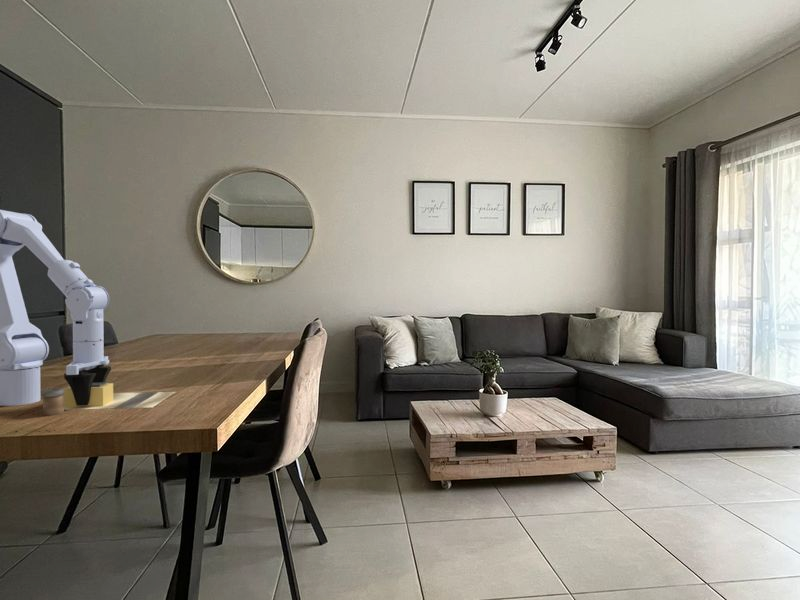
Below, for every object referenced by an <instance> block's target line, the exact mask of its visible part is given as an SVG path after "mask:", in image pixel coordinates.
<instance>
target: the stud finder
mask: <svg viewBox="0 0 800 600" xmlns="http://www.w3.org/2000/svg"><path fill="white" fill-rule="evenodd" d="M62 389H64V407H84V406H104V405H106V404H108V403H110V402H112V401H113V393H114V382H110V383H109V382H100V383H92V386H91V392H90V400H89V404H88V405H76V402H75V398H74V395H73V392H72V389H71V387H70V385H68V386H66V387H63V388H62Z"/></svg>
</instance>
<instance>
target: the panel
mask: <svg viewBox="0 0 800 600" xmlns="http://www.w3.org/2000/svg"><path fill="white" fill-rule="evenodd" d="M175 393H176V391H156V392H153V391H151V392H150V391H149V392H145V391H144V392H113V401H112V402H110V403H108V404H106V405H104V406H84V407H64V411H72V410H74V411H75V410H77V411H78V410H107V409H110V410H111V409H147V408H148V409H149V408H154V407H155V406H157V405H159V404H160V403H161V402H164V400H166V399H167V398H169V397H170V396H172V395H174V394H175Z"/></svg>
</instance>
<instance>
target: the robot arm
mask: <svg viewBox="0 0 800 600" xmlns="http://www.w3.org/2000/svg"><path fill="white" fill-rule="evenodd" d="M24 246H25V247H26V248H27V249H28V250H30V252H31V253H32V254H34V255H35V257H36V258H38V260H40V261H41V262H42V263H43V264H44V265H45V266H46V267H47V268H48V269H47V277H48V278H49V280H50V281H52V282H53V283H54V285H55V286H56V287H57V288H58V289H59V290H60V291H61V293H62V294H63V295H64V296H65V297H66V298H65V300H64V301H65V305H66V308H67V309H68V311H69V313H70V318H71V320H72V361H71V362H70V363H69V364H67V365H65V373H63V378H64V380H65V381H66V382H67V383H68V386H70V387H71V389H72V392H73V395H74V398H75V402H76V405H88V404H89V400H90V392H91V386H92V383H100V382H105V381H107V377H108V375H109V374H110V372H111V371H112V366H107V365H109V364H110V359H109V356H108V355H104V353H105V351H104V347H105V346H104V341H105V340H104V339H105V338H104V333H105V332H104V329H105V328H104V324H105V323H104V322H105V321H104V311H105V310H107V308H108V306H109V304H110V295H109V293H108V291H107V288H105V287H103V286H101V285H96V284H95V283H94V281H93V280H92V279H89V278H88V276H86V274H85V273H84V272H83V271H82V270H81V265H80V264H79V263H78V262H76V261H75V262H74V261H73V260H70V259H65V258H64V257H62V255H61V253H60V252H59V251H58V250H57V249H56V247H55V245H54V244H53V243H52V242H51V241H50V239H49V238H48V237H47V235H46V234H45V233H44V232H43V225H42V224H41V223H40V222H39V221H38V220H37V218H35V216H33V215H32V214H31V213H30V214H29V213H20V212H15V211H11V210H10V211H9V210H4V209H0V406H9V407H10V406H11V407H12V406H13V407H15V406H23V405H24V406H25V405H29V404H35V403H37V402H40V401H41V400H42V399H41V396H42V395H41V394H42V393H41V366H43V364H44V361H45V360H46V359H47V358H48V357H49V356H48V355H49V352H50V346H49V344H48V342H47V340H46V339H45V338H44V337H43V334H42V331H41V330H42V329H40V328H38V327H37V326H36V325H34V324H32V322H30V320H29V317H28V312H27V308H26V306H25V305H26V304H25V300H24V298H23V294H22V290H21V286H20V283H19V278H18V275H17V271H16V268H15V263H14V260H13V255H14V254H16V252H18V251H20V250H21V249H22V248H24Z"/></svg>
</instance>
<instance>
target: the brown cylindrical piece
mask: <svg viewBox="0 0 800 600" xmlns="http://www.w3.org/2000/svg"><path fill="white" fill-rule="evenodd" d="M41 392H42V393H41V394H42V395H41V396H42V411H43V412H42V415H43V416H46V417H51V416H52V417H53V416H58V415H62V414H64V413H65V412H64V411H65V410H64V389H63V388H60V387H58V388H48V389H45V390H44V389H43V390H42V391H41Z"/></svg>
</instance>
